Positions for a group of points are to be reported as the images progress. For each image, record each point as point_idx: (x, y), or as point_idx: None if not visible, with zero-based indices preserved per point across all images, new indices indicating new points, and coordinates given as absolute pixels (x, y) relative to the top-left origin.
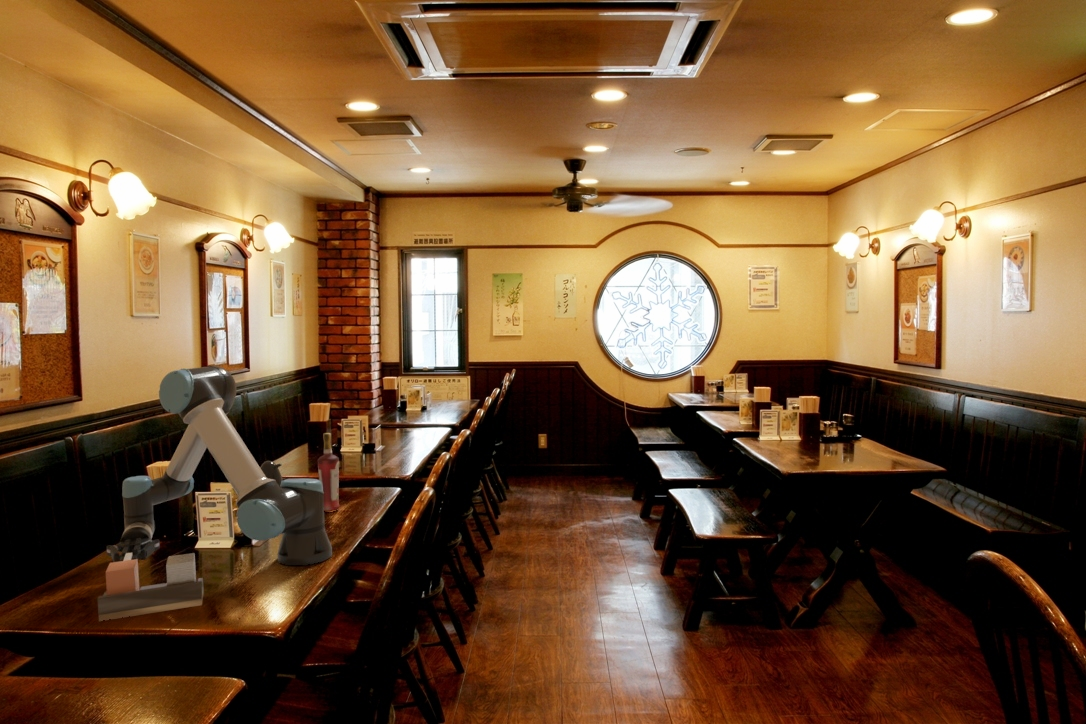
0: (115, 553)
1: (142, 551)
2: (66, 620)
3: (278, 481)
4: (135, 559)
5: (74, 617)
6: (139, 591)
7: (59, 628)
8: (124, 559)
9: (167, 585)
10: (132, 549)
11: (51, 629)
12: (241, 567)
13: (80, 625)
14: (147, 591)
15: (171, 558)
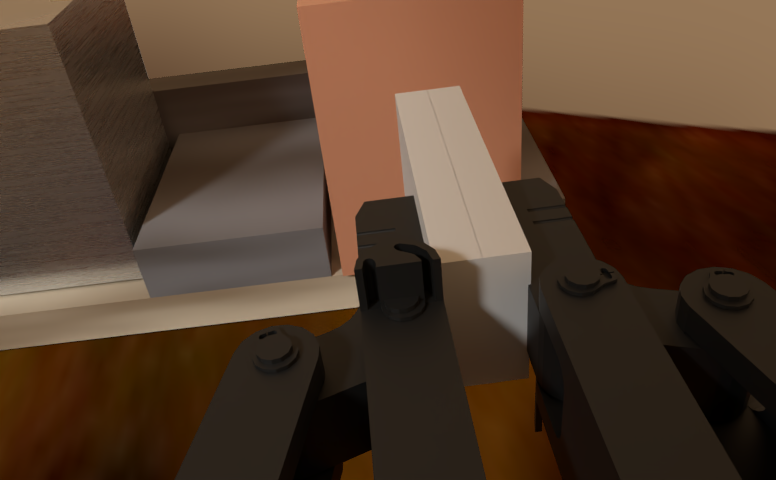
0: (736, 279)
1: (286, 331)
2: (692, 177)
3: None
4: (313, 4)
5: (670, 195)
6: (300, 66)
7: (664, 128)
8: (458, 107)
9: (152, 95)
10: (437, 254)
11: (699, 126)
12: None
13: (575, 137)
14: (260, 67)
15: (43, 5)
